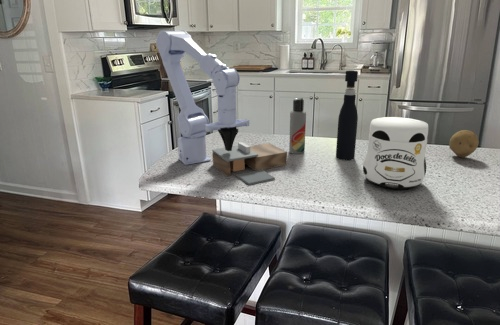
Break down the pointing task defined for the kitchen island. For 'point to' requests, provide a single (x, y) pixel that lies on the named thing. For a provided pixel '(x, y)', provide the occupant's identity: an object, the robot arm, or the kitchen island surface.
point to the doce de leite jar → (396, 152)
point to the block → (237, 165)
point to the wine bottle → (347, 121)
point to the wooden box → (256, 158)
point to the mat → (255, 177)
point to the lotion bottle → (297, 127)
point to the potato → (463, 143)
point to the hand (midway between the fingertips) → (228, 150)
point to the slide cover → (235, 152)
